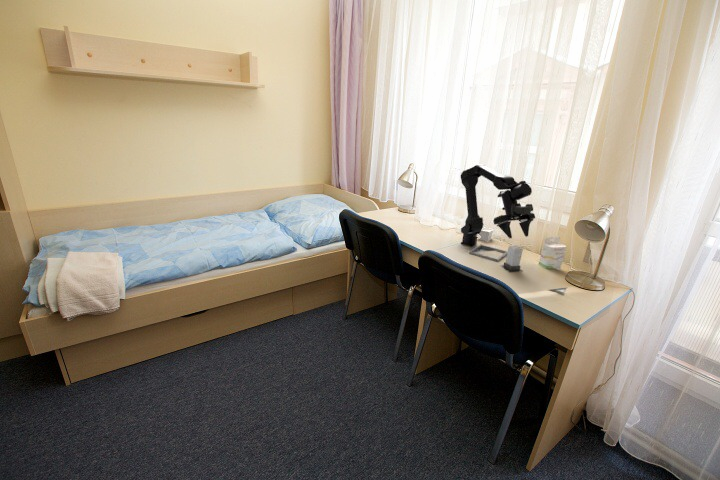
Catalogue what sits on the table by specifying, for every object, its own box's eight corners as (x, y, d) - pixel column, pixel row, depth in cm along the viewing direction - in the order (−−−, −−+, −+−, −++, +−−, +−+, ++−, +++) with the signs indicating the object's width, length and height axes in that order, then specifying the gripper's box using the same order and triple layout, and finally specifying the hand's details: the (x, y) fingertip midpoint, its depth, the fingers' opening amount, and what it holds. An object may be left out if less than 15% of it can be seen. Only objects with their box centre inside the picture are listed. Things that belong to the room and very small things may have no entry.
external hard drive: (540, 289, 136) (547, 278, 145) (563, 296, 131) (568, 284, 140) (541, 285, 135) (547, 275, 144) (564, 292, 130) (569, 281, 139)
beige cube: (491, 239, 189) (493, 229, 186) (487, 242, 184) (489, 231, 182) (480, 236, 192) (482, 226, 190) (476, 239, 188) (478, 229, 185)
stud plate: (498, 268, 151) (499, 265, 151) (512, 267, 153) (512, 264, 153) (509, 275, 145) (509, 272, 145) (522, 274, 147) (523, 271, 146)
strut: (503, 266, 150) (507, 245, 147) (512, 265, 151) (516, 245, 148) (510, 271, 146) (514, 249, 142) (519, 270, 147) (524, 249, 144)
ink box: (545, 271, 150) (553, 241, 145) (537, 267, 155) (544, 237, 149) (561, 270, 152) (569, 239, 147) (552, 265, 157) (560, 236, 152)
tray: (468, 256, 164) (469, 251, 163) (479, 248, 174) (480, 244, 173) (497, 264, 156) (498, 259, 155) (507, 256, 166) (508, 251, 165)
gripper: (506, 198, 139) (516, 234, 137) (540, 196, 146) (550, 231, 143) (488, 206, 150) (497, 240, 147) (521, 204, 156) (529, 237, 153)
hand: (518, 237), depth 147 cm, fingers open, 9 cm apart
